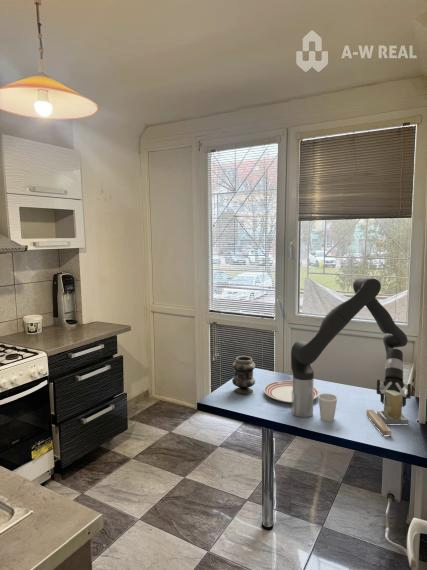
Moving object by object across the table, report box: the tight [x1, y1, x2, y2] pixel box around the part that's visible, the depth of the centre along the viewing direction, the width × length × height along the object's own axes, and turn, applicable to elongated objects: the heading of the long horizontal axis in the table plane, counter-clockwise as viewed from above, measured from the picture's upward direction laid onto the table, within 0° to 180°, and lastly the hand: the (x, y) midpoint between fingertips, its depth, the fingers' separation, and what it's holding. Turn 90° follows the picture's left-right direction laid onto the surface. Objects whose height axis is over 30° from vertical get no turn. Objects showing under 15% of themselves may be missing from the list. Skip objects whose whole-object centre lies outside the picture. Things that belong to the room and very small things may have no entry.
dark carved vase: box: [231, 355, 256, 396], centre depth 205 cm, size 12×12×18 cm
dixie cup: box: [317, 392, 339, 422], centre depth 174 cm, size 8×8×10 cm
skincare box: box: [383, 390, 403, 419], centre depth 171 cm, size 6×4×12 cm
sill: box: [366, 409, 392, 436], centre depth 167 cm, size 3×20×2 cm, turn 178°
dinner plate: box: [263, 380, 320, 404], centre depth 200 cm, size 27×27×3 cm
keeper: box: [376, 409, 410, 425], centre depth 172 cm, size 10×10×2 cm
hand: (392, 404), depth 170 cm, fingers open, 7 cm apart
